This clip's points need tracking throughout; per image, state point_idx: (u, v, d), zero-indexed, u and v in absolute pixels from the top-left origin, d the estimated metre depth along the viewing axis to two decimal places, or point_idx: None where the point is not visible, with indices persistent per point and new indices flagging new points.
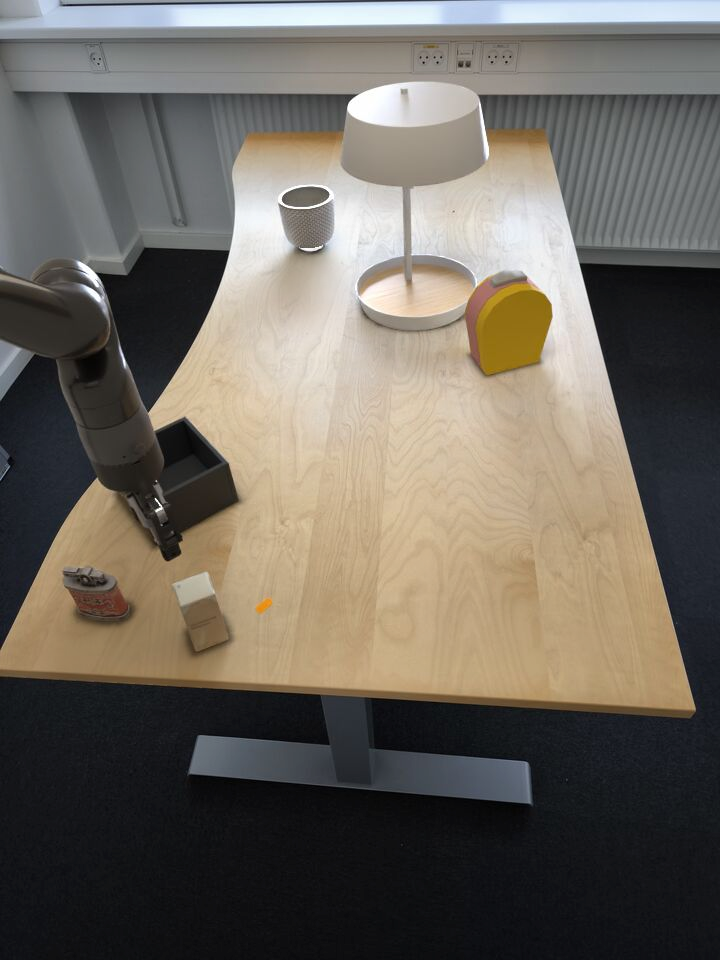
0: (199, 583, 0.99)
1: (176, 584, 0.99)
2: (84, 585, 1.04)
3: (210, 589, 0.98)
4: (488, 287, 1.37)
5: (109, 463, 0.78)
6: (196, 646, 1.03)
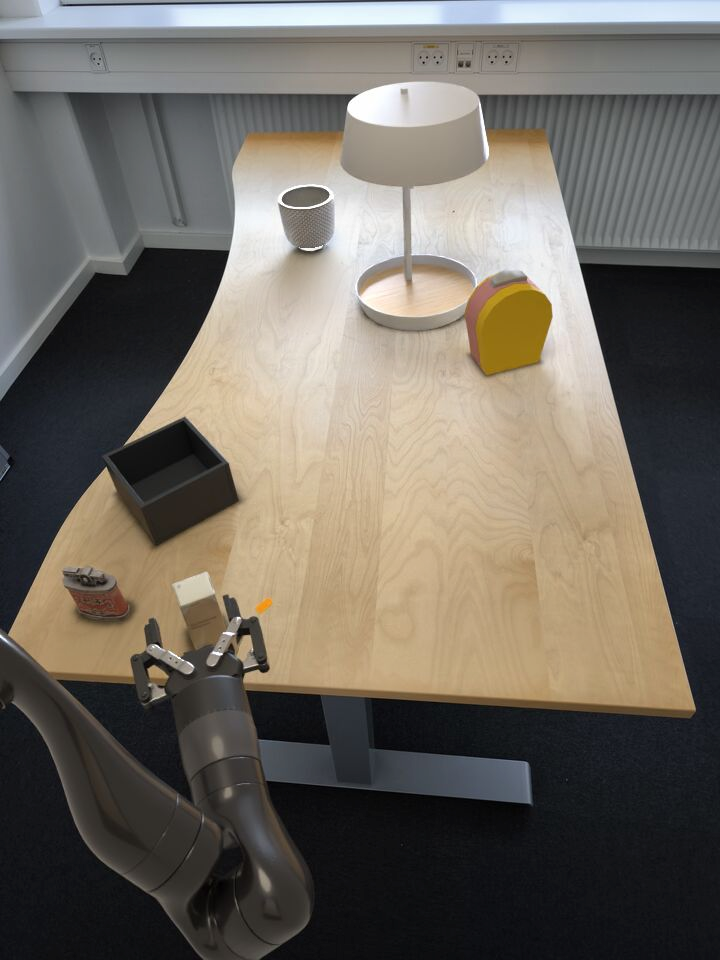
0: (199, 583, 0.99)
1: (176, 584, 0.99)
2: (84, 585, 1.04)
3: (210, 589, 0.98)
4: (488, 287, 1.37)
5: (183, 732, 0.71)
6: (196, 646, 1.03)
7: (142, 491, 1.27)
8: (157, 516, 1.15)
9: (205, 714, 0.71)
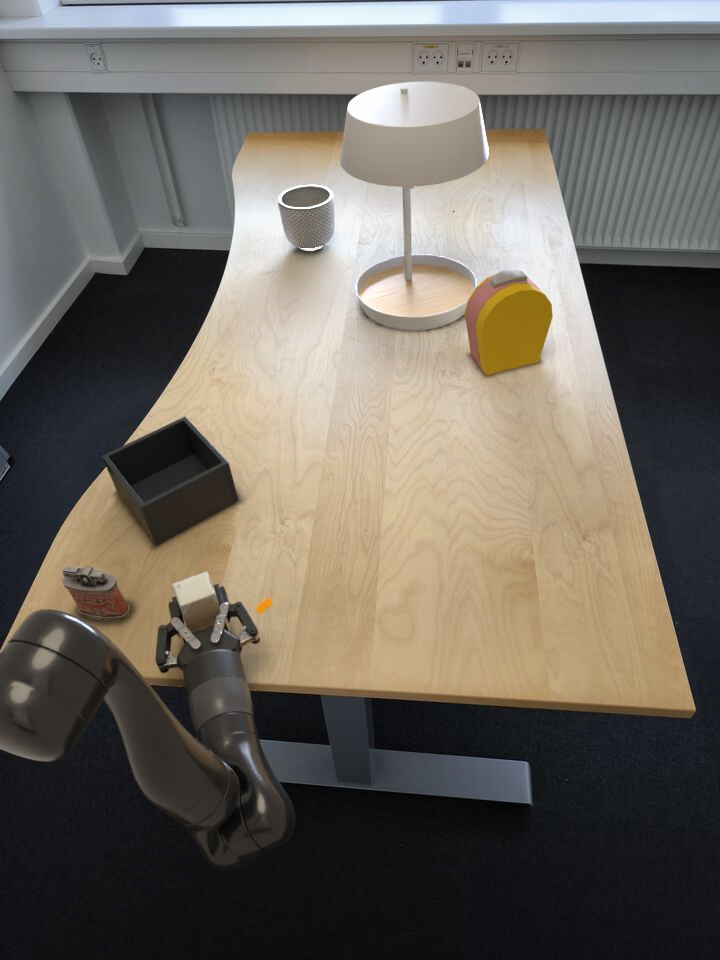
0: (199, 583, 0.99)
1: (176, 584, 0.99)
2: (84, 585, 1.04)
3: (210, 589, 0.98)
4: (488, 287, 1.37)
5: (192, 693, 0.89)
6: None
7: (142, 491, 1.27)
8: (157, 516, 1.15)
9: (210, 679, 0.89)
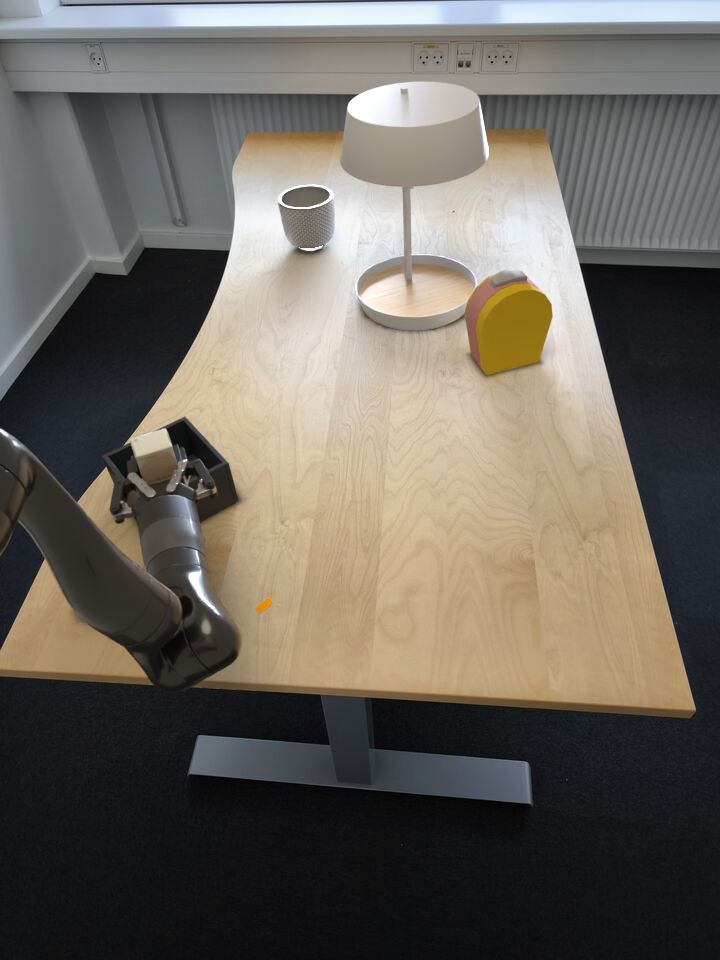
0: (156, 437, 0.97)
1: (133, 438, 0.98)
2: None
3: (168, 442, 0.97)
4: (488, 287, 1.37)
5: (143, 533, 0.88)
6: None
7: None
8: None
9: (161, 518, 0.88)
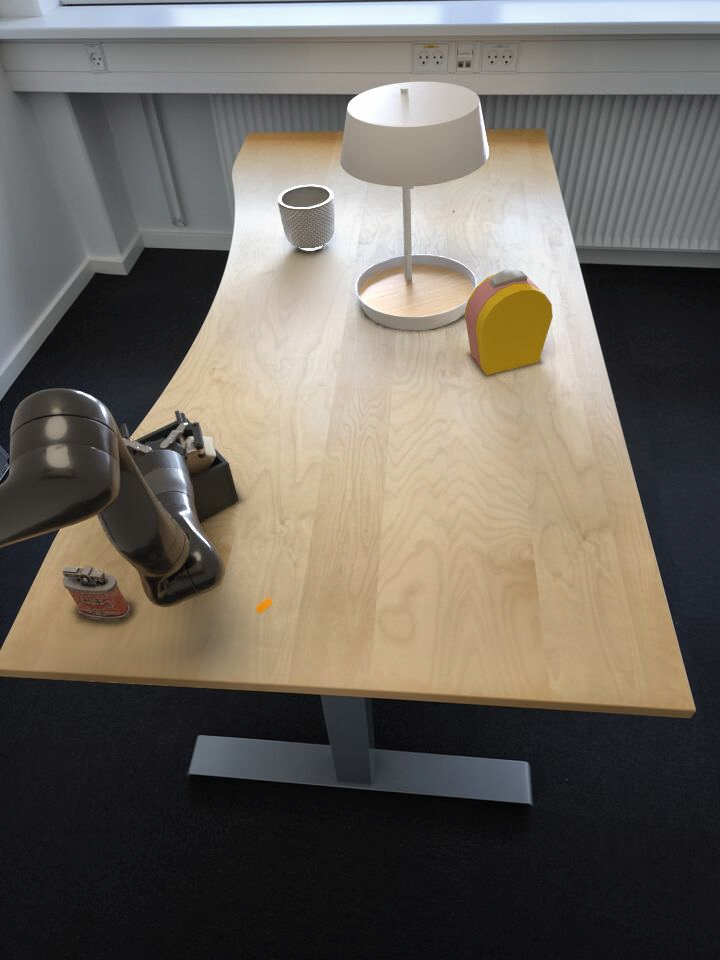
0: (205, 442, 1.18)
1: None
2: (84, 585, 1.04)
3: (213, 451, 1.18)
4: (488, 287, 1.37)
5: None
6: None
7: None
8: None
9: (156, 468, 1.03)
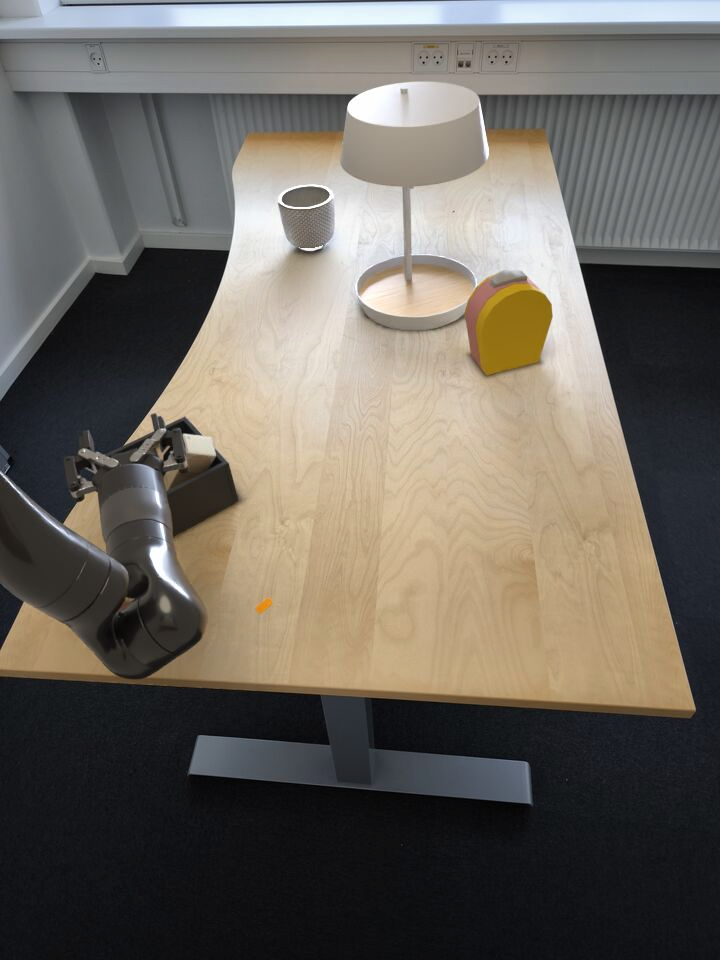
0: (205, 442, 1.18)
1: (186, 435, 1.18)
2: None
3: (213, 451, 1.18)
4: (488, 287, 1.37)
5: (103, 505, 0.80)
6: None
7: None
8: None
9: (122, 489, 0.80)
